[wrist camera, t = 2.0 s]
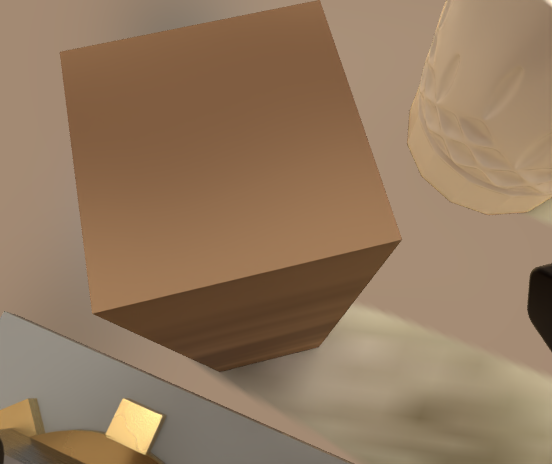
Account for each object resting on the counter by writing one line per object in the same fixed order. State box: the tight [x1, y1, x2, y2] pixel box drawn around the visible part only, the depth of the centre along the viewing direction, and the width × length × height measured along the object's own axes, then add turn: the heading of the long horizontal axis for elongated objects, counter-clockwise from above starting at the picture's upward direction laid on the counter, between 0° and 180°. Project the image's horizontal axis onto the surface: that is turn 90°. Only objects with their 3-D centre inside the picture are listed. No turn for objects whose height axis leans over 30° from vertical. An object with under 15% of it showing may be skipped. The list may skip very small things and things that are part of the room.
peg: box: [60, 0, 402, 372], centre depth 12 cm, size 4×4×12 cm
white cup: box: [407, 0, 552, 215], centre depth 15 cm, size 8×8×10 cm
